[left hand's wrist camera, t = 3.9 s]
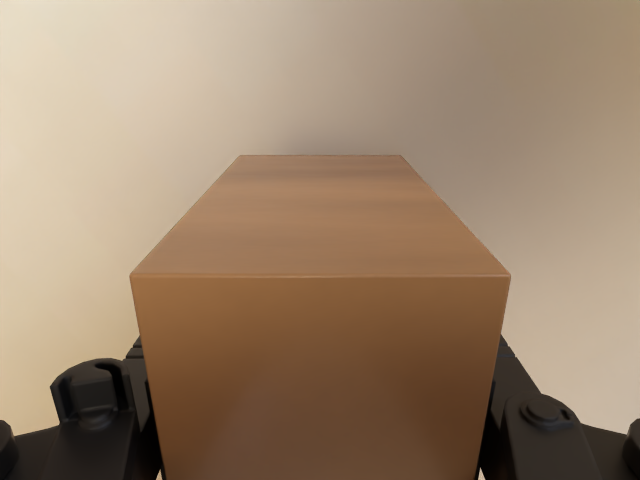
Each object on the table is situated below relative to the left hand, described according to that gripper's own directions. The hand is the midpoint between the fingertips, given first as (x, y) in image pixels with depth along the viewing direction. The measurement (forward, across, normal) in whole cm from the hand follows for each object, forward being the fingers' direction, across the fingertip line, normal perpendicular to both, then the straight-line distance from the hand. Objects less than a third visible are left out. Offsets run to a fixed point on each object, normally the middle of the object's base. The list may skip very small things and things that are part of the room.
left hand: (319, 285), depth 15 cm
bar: (+1, 0, -7) cm, 7 cm away
